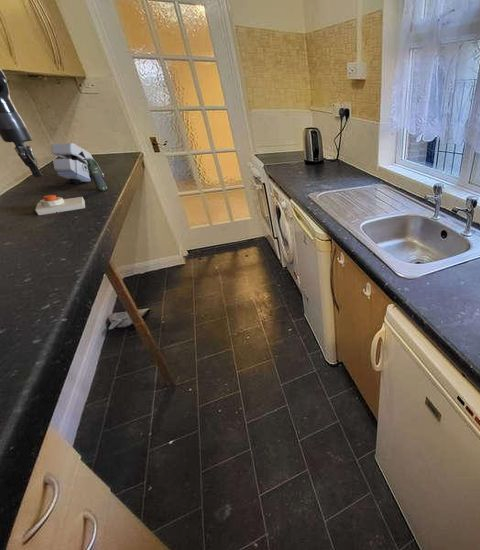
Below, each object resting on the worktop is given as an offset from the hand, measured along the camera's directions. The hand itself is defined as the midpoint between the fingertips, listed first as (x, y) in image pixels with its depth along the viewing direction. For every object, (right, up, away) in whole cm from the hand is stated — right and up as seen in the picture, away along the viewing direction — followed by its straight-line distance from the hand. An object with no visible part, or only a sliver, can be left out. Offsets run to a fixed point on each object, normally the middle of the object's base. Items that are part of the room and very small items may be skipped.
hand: (38, 176), depth 114 cm
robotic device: (-25, +12, +44) cm, 52 cm away
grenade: (-2, +3, +30) cm, 31 cm away
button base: (+1, -10, +8) cm, 13 cm away
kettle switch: (0, -8, +5) cm, 9 cm away
